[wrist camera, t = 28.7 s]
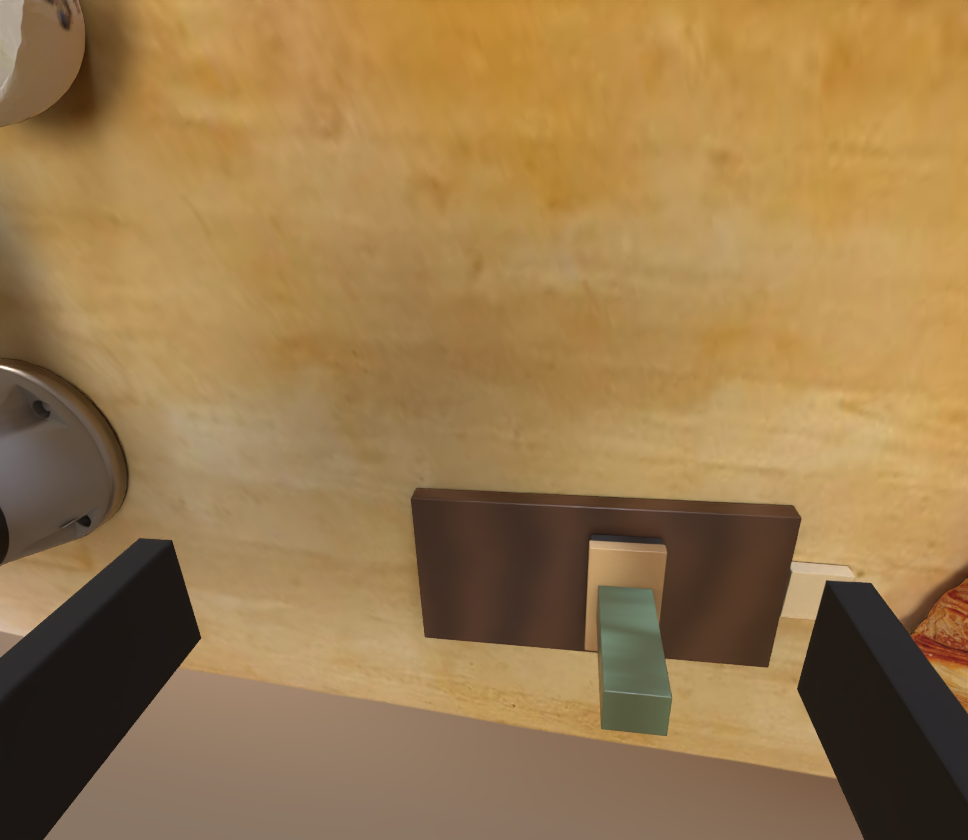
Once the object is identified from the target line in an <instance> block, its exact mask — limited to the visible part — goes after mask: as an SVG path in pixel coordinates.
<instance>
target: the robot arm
mask: <svg viewBox="0 0 968 840" xmlns="http://www.w3.org/2000/svg"><path fill="white" fill-rule="evenodd" d="M126 485H127V474H126V466H125V461H124V457H123V454H122V451H121V448H120V446H119V443H118V441H117V439H116V437H115V435H114V433H113V431H112V430H111V428H110V426H109V425H108V423H107V422H106V420H105V419H104V418H103V416H102V415H101V414H100V412H99V411H98V410H97V409H96V408H95V407H94V405H93V404H92V403H91V402H90V401H89V400H88V399H87V398H86V397H85V396H84V395H83V394H81V393H80V392H79V391H78V390H77V389H76V388H74V387H73V386H72V385H70V384H69V383H68V382H66V381H65V380H63V379H62V378H60V377H58V376H57V375H55V374H53V373H51V372H49V371H48V370H45V369H43V368H41V367H39V366H36V365H33V364H30V363H27V362H23V361H19V360H13V359H0V566H1V565H3V564H5V563H8V562H11V561H14V560H17V559H20V558H23V557H26V556H29V555H32V554H35V553H38V552H41V551H44V550H46V549H49V548H52V547H55V546H58V545H61V544H64V543H67V542H70V541H73V540H76V539H79V538H82V537H84V536H86V535H88V534H89V533H91V532H92V531H94V530H95V529H96V528H98V527H99V526H100V525H102V524H103V523H105V522H106V521H107V520H109V519H110V518H111V517H112V516H113V515H114V514H115V513H116V512H117V510H118V509H119V507H120V506H121V503H122V501H123V499H124V496H125V492H126ZM200 639H201V636H200V632H199V629H198V626H197V622H196V619H195V616H194V612H193V609H192V606H191V602H190V599H189V595H188V592H187V589H186V585H185V582H184V579H183V575H182V572H181V569H180V565H179V562H178V559H177V555H176V552H175V549H174V545H173V542H172V540H159V539H143V538H139V539H138V540H137V541H136V542H135V543H134V544H132V545H131V546H130V547H129V548H128V549H127V550H125V551H124V552H123V553H122V554H121V555H120V556H118V557H117V558H116V559H115V560H114V561H113V562H111V563H110V564H109V565H108V566H107V567H106V568H104V569H103V570H102V571H101V572H100V573H99V574H97V575H96V576H95V577H94V578H93V579H92V580H90V581H89V582H88V583H87V584H86V585H85V586H83V587H82V588H81V589H80V590H79V591H78V592H76V593H75V594H74V595H73V596H72V597H71V598H69V599H68V600H67V601H66V602H65V603H64V604H62V605H61V606H60V607H59V608H58V609H57V610H55V611H54V612H53V613H52V614H51V615H50V616H48V617H47V618H46V619H45V620H44V621H43V622H41V623H40V624H39V625H38V626H37V627H36V628H34V629H33V630H32V631H31V632H30V633H29V634H27V635H26V636H25V637H24V638H23V639H22V640H20V641H19V642H18V643H17V644H16V645H15V646H14V647H12V648H11V649H10V650H9V651H8V652H7V653H5V654H4V655H3V656H2V657H1V658H0V840H43V839H44V838H45V837H46V835H47V834H48V833H49V832H50V830H51V829H52V828H53V827H54V825H55V824H56V823H57V821H58V820H59V819H60V818H61V816H62V815H63V813H64V812H65V811H66V810H67V809H68V807H69V806H70V805H71V803H72V802H73V801H74V800H75V798H76V797H77V796H78V795H79V793H80V792H81V791H82V790H83V788H84V787H85V786H86V784H87V783H88V782H89V781H90V779H91V778H92V777H93V775H94V774H95V773H96V772H97V770H98V769H99V768H100V766H101V765H102V764H103V763H104V761H105V760H106V759H107V758H108V756H109V755H110V753H111V752H112V751H113V750H114V749H115V747H116V746H117V745H118V743H119V742H120V741H121V740H122V738H123V737H124V736H125V735H126V733H127V732H128V731H129V729H130V728H131V727H132V725H133V724H134V723H135V722H136V720H137V719H138V718H139V717H140V715H141V714H142V713H143V712H144V710H145V709H146V708H147V707H148V705H149V704H150V703H151V701H152V700H153V699H154V698H155V696H156V695H157V694H158V692H159V691H160V690H161V689H162V687H163V686H164V685H165V684H166V682H167V681H168V680H169V679H170V677H171V676H172V675H173V673H174V672H175V671H176V670H177V668H178V667H179V666H180V665H181V663H182V662H183V661H184V659H185V658H186V657H187V656H188V654H189V653H190V652H191V650H192V649H193V648H194V647H195V645H196V644H197V643H198V642H199V640H200ZM797 690H798V692H799V694H800V697H801V699H802V701H803V703H804V706H805V708H806V710H807V712H808V715H809V717H810V719H811V721H812V724H813V726H814V728H815V730H816V733H817V735H818V737H819V739H820V741H821V744H822V746H823V748H824V750H825V753H826V755H827V757H828V759H829V762H830V764H831V766H832V768H833V771H834V773H835V775H836V777H837V779H838V782H839V784H840V786H841V788H842V791H843V793H844V795H845V797H846V799H847V802H848V804H849V806H850V809H851V811H852V813H853V815H854V817H855V820H856V822H857V824H858V827H859V829H860V831H861V833H862V835H863V838H864V840H968V713H967V711H966V710H965V709H964V707H963V706H962V705H961V703H960V702H959V701H958V699H957V698H956V697H955V695H954V694H953V693H952V691H951V690H950V689H949V687H948V686H947V685H946V683H945V682H944V681H943V679H942V678H941V676H940V675H939V674H938V672H937V671H936V670H935V668H934V667H933V666H932V664H931V663H930V662H929V660H928V659H927V658H926V656H925V655H924V654H923V652H922V651H921V650H920V648H919V647H918V645H917V644H916V643H915V641H914V640H913V639H912V637H911V636H910V635H909V633H908V632H907V631H906V629H905V628H904V627H903V625H902V624H901V623H900V621H899V620H898V619H897V617H896V616H895V615H894V613H893V612H892V610H891V609H890V608H889V606H888V605H887V604H886V602H885V601H884V600H883V598H882V597H881V596H880V594H879V593H878V592H877V590H876V589H875V588H874V586H873V585H872V584H871V583H862V582H846V581H830V580H826V583H825V586H824V590H823V594H822V598H821V601H820V605H819V609H818V613H817V616H816V620H815V624H814V628H813V631H812V635H811V639H810V643H809V646H808V650H807V654H806V658H805V661H804V665H803V669H802V673H801V676H800V680H799V684H798V688H797Z"/></svg>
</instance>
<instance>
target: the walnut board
mask: <svg viewBox="0 0 968 840" xmlns="http://www.w3.org/2000/svg"><path fill="white" fill-rule="evenodd" d="M411 504H412V514H413V524H414V535H415V545H416V555H417V565H418V575H419V585H420V595H421V605H422V615H423V625H424V635H425V637H426V638H437V639H449V640H460V641H472V642H483V643H494V644H506V645H517V646H529V647H540V648H551V649H563V650H574V651H586V652H597V653H598V651H590V650H585V645H584V640H585V618H586V596H587V575H588V553H589V541H590V535H591V534H594V535H612V536H630V537H648V538H661V539H662V542H663V545H665V546H666V550H667V559H666V568H665V577H664V585H663V594H662V603H661V612H660V621H659V628H660V634H661V639H662V645H663V650H664V656H665V659H677V660H688V661H700V662H711V663H722V664H734V665H745V666H756V667H768V666H769V661H770V657H771V653H772V648H773V644H774V639H775V635H776V630H777V626H778V621H779V617H780V612H781V608H782V603H783V599H784V594H785V590H786V585H787V581H788V576H789V572H790V567H791V563H792V558H793V554H794V549H795V545H796V540H797V536H798V531H799V527H800V522H801V517H800V515H799V514H798V512H797V510H796V509H795V507H794V506H783V505H762V504H741V503H719V502H698V501H677V500H656V499H635V498H613V497H592V496H571V495H550V494H529V493H507V492H486V491H465V490H444V489H423V488H416V490H415V492H414V494H413V496H412V498H411Z"/></svg>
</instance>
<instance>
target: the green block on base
mask: <svg viewBox="0 0 968 840" xmlns="http://www.w3.org/2000/svg"><path fill="white" fill-rule="evenodd" d="M666 559H667V550H666V546H665V545H663V542H662V539H661V538H648V537H630V536H612V535H594V534H591V535H590V541H589V553H588V575H587V596H586V618H585V640H584V645H585V650H590V651H598V670H599V693H600V715H601V729H605V730H615V731H624V732H633V733H643V734H652V735H661V736H667V732H668V724H669V717H670V710H671V702H672V694H671V689H670V683H669V678H668V672H667V667H666V661H665V656H664V650H663V645H662V639H661V634H660V628H659V621H660V612H661V603H662V594H663V585H664V577H665V568H666Z"/></svg>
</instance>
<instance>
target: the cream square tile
mask: <svg viewBox="0 0 968 840" xmlns="http://www.w3.org/2000/svg"><path fill="white" fill-rule="evenodd" d="M826 580H830V581H846V582H854V580H855V576H854V574H853V573H852V572H851V570H850V569H849V567H848V566H839V565H827V564H815V563H803V562H792V563H791V567H790V572H789V576H788V581H787V585H786V590H785V594H784V599H783V603H782V608H781V612H780V617H787V618H797V619H807V620H816V616H817V613H818V609H819V605H820V601H821V598H822V594H823V590H824V586H825V583H826Z"/></svg>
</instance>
